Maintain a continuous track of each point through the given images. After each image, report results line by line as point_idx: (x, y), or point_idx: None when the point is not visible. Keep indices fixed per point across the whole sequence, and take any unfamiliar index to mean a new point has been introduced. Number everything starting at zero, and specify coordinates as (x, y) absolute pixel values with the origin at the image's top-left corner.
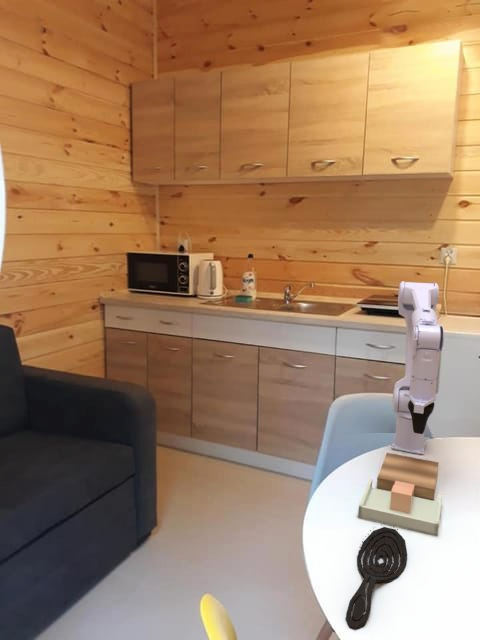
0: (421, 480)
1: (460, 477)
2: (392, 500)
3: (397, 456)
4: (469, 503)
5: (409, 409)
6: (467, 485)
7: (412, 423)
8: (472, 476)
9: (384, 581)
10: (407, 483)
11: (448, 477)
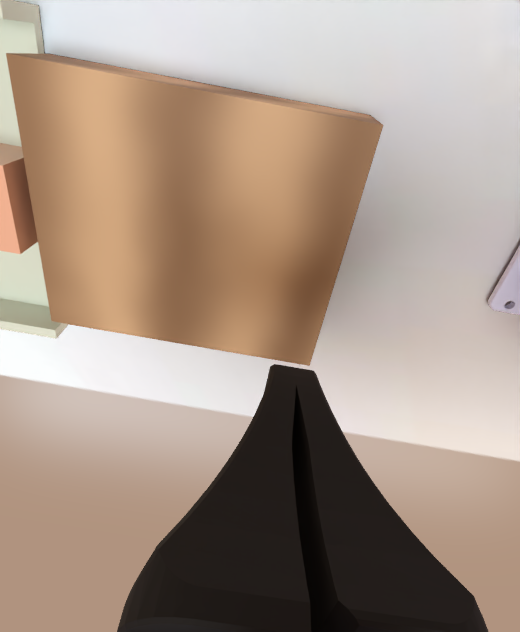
0: (103, 283)
1: None
2: None
3: (335, 191)
4: (130, 386)
5: (160, 545)
6: (248, 401)
7: (260, 409)
8: None
9: None
10: (11, 223)
11: None
